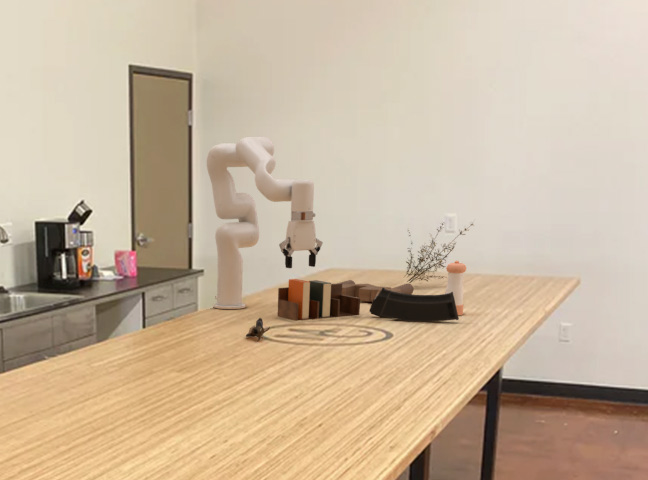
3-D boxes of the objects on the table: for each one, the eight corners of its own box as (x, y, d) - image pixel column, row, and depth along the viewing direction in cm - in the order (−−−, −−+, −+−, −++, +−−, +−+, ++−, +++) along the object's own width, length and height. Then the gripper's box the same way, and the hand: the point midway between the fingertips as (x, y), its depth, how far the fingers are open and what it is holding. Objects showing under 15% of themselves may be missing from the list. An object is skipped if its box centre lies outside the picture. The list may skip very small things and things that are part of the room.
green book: (307, 314, 387) (308, 280, 383) (315, 313, 388) (316, 280, 384) (321, 317, 379) (323, 283, 375) (330, 316, 380) (331, 282, 376)
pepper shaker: (466, 313, 390) (471, 260, 384) (456, 316, 385) (461, 262, 379) (448, 311, 395) (452, 259, 389) (438, 314, 390) (442, 260, 384)
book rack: (277, 318, 383) (278, 287, 380) (339, 312, 394) (341, 283, 391) (295, 322, 373) (297, 291, 370) (359, 317, 384) (360, 286, 381)
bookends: (393, 305, 412) (419, 296, 436) (394, 290, 411) (420, 282, 434) (310, 299, 430) (339, 290, 454) (311, 285, 428) (339, 277, 452)
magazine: (467, 296, 368) (385, 268, 375) (467, 297, 365) (384, 269, 372) (449, 342, 375) (368, 314, 381) (448, 344, 372) (367, 315, 378)
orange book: (287, 315, 383) (288, 279, 379) (294, 315, 384) (295, 278, 380) (301, 319, 375) (303, 282, 371) (308, 318, 376) (310, 281, 372)
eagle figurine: (275, 337, 339) (267, 327, 346) (265, 319, 335) (257, 310, 343) (255, 350, 339) (247, 340, 347) (245, 333, 336) (237, 323, 344)
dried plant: (428, 250, 436) (481, 199, 458) (365, 252, 459) (419, 203, 480) (445, 315, 452) (495, 263, 473) (383, 314, 474) (434, 264, 496)
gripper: (316, 215, 376) (314, 265, 381) (274, 217, 368) (273, 267, 374) (328, 216, 369) (326, 266, 374) (286, 218, 362) (285, 269, 367)
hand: (300, 267), depth 374 cm, fingers open, 9 cm apart
